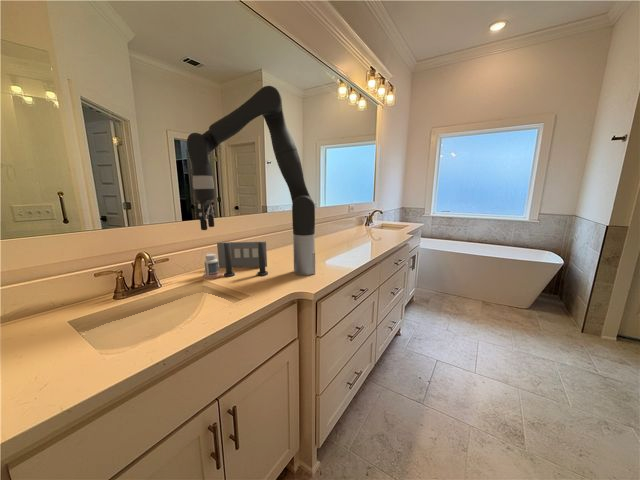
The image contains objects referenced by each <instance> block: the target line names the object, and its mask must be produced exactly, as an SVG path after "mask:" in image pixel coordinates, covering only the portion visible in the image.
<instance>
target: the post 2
mask: <svg viewBox="0 0 640 480" xmlns="http://www.w3.org/2000/svg"><path fill="white" fill-rule="evenodd" d="M257 242H258V247H259V266H260V267H259V271H258V272H257V276H258V277H265V276H267V275H268V274H269V271H268V270H266V267H265V251H264V242H261V241H257Z"/></svg>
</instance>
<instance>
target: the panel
mask: <svg viewBox="0 0 640 480" xmlns="http://www.w3.org/2000/svg"><path fill="white" fill-rule="evenodd" d="M258 242H259V241H224V242H223V241H220V242H219V241H218V242H216V246H217V247H216V248H217V259H218V265H219V269H226V263H225V251H224V243H230V249H231V262H232V269H235V268H260V266H259V247H258ZM260 242H264V251H265V268H266V267H268V256H267V255H268V254H267V241H260Z"/></svg>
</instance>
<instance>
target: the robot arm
mask: <svg viewBox="0 0 640 480" xmlns="http://www.w3.org/2000/svg"><path fill="white" fill-rule="evenodd" d="M282 101H283V100H282V95H281V93H280V91H279V90H278V89H277V88H276V87H275V86H272V85H265V86H263V87H261V88H260V89H258V90H257V92H255V93H254V94H253V95H252V96H251V97H250V98H248V99H247V100H246V101H245V102H244V103H242V104H241V105H240V106H239V107H237V108H236V109H234V110H233V111H231V112H230V113H228V114H227V115H225V116H224V117H222V118H220V119H218V120H217V121H214V122H213V123H212V124H210V125H209V127H208V130H206V131H205V132H203V133H202V134H201V133H199V132H192V133H190V134H189V135H188V136H187V139H186V149H187V153H188V156H189V160H190V163H191V170H192V171H191V172H192V184H193V185H192V186H193V187H192V188H193V195H194V200H195V201H199V203H195V210H196V212H195V213H196V220H198V221H200V222H199V224H200V230H201V231H207V230H208V227H209V228H214V227H215V217H216V207H215V202H214V200H216V193H215V184H214V183H215V182H214V178H213V169H212V163H211V161H210V160H209V155H208V154H210V153H211V152H213V151H214V150H216V149H217V148H218V146H219V145H221V144H222V143H223V142H225V141H227V140H229V139H230V138H232V137H233V136H235V135H237V134H238V133H239V132H240V131H242V130H243V129H244V128H245V127H246V126H247V125H248V124H249V123H250V122H251V121H253V120H254V119H256V118H258V117H260V116H262V117H263V119H264V121H265V123H266V124H265V125H266V127H267V129H268V130H269V135H270V140H271V144H272V149H273V150H272V151H273V153H274V157H275V160H276V163H277V166H278V168H279V170H280V174H281V175H282V177H283V179H284V181H285V183H286V185H287V188H288V191H289V194H290V198H291V199H290V200H291V203H292V204H291V205H292V206H291V213H292V217H291V219H292V221H291V222H292V233H293V234H292V235H293V236H292V239H293V241H292V242H293V246H292V247H293V250H292V251H293V273H294V274H295V275H298V276H310V275H315V274H316V249H315V247H316V241H315V239H316V235H315V231H316V229H315V228H316V207H315V202H314V200H313V199H312V197H311V195H310V193H309V191H308V188H307V185H306V183H305V182H306V181H305V177H304V171H303V167H302V166H303V165H302V163H301V159H300V156H299V155H300V154H299V152H298V149H297V146H296V144H295V141H294V139H293V136H292V135H291V133H290V131H289V129H288V126H287V123H286V119H285V115H284V110H283V102H282Z"/></svg>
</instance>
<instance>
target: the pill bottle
mask: <svg viewBox="0 0 640 480" xmlns="http://www.w3.org/2000/svg"><path fill="white" fill-rule="evenodd" d="M204 269H205V270H204V273H205V274H206V276H208V277H213V276H217V275H219V272H220V268H219V261H218V258H217V254H216V253H206V254H205V260H204Z"/></svg>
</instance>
